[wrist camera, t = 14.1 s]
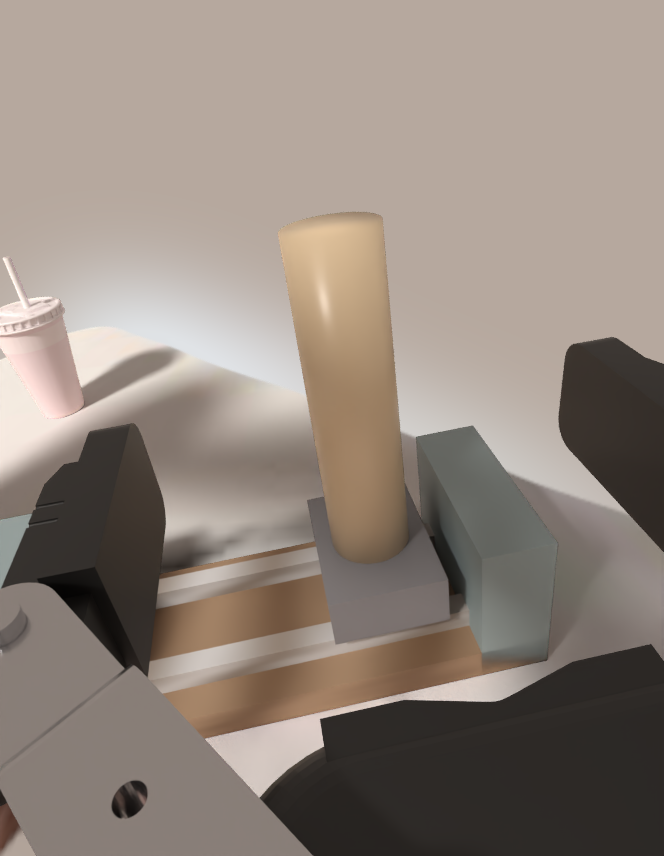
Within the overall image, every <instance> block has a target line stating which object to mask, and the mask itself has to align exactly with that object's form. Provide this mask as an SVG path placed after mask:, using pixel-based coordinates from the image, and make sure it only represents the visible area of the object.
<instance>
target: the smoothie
mask: <svg viewBox="0 0 664 856" xmlns="http://www.w3.org/2000/svg"><path fill="white" fill-rule="evenodd" d="M3 260H4V262H5V264H6V267H7V269H8V272H9V274H10V277H11V279H12V281H13V284H14V286H15V288H16V291H17V293H18V295H19V298H20V300H21V301H18V302H14V303H11V304H8V305H5V306H3V307H0V348H1V349H2V351H3V352H4V354H5V355H6V357H7V359H8V360H9V362H10V363H11V365H12V367H13V368H14V370H15V371H16V373H17V375H18V376H19V378H20V379H21V381H22V382H23V384H24V386H25V387H26V389H27V390H28V392H29V394H30V395H31V397H32V398H33V400H34V401H35V403H36V405H37V406H38V408H39V409H40V411H41V413H42V414H43V416H44V417H45V418H48V419H57V418H62V417H66V416H69V415H71V414H73V413H75V412H77V411H79V410H80V409H81V408H82V407H83V406H84V399H83V395H82V391H81V387H80V383H79V379H78V375H77V371H76V367H75V363H74V359H73V355H72V351H71V347H70V343H69V339H68V335H67V331H66V327H65V323H64V320H63V316H62V315H63V314H64V312H65V309H64V308H63V306H62V303H61V301H60V299H58V298H55V297H38V298H32V299H28V298H27V296H26V294H25V291H24V289H23V286H22V284H21V282H20V280H19V277H18V275H17V272H16V270H15V267H14V265H13V263H12V260H11V258H10V257H9V256H8V257H4V258H3Z"/></svg>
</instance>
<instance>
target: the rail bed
mask: <svg viewBox="0 0 664 856" xmlns="http://www.w3.org/2000/svg"><path fill="white" fill-rule="evenodd" d="M421 520H422V519H421ZM422 522H423V521H422ZM423 525H424V527H425V529H426V531H427V534H428V536H429V538H430V540H431V542H432V545H433V547H434V549H435V535H434V533H433V531H432V529H431V527H430V525H429V523H426V524H423ZM435 551H436V550H435ZM436 554H437V553H436ZM437 556H438V555H437ZM438 558H439V557H438ZM439 560H440V559H439ZM440 563H441V561H440ZM441 565H442V564H441ZM442 567H443V566H442ZM443 569H444V568H443ZM444 571H445V570H444ZM445 574H446V572H445ZM446 576H447V575H446ZM447 578H448V577H447ZM448 585H449V611H450V620H446V621H441V622H436V623H432V624H427V625H423V626H418V627H414V628H409V629H405V630H400V631H396V632H391V633H387V634H382V635H378V636H373V637H369V638H364V639H360V640H355V641H351V642H346V643H342V644H337V645H335V639H334V634H333V629H332V624H331V619H330V614H329V609H328V604H327V599H326V594H325V589H324V583H323V578H322V573H321V568H320V563H319V558H318V553H317V548H316V543H315V542H311V543H306V544H301V545H296V546H292V547H287V548H282V549H277V550H272V551H268V552H263V553H258V554H253V555H249V556H244V557H239V558H234V559H229V560H225V561H220V562H215V563H210V564H205V565H201V566H196V567H191V568H186V569H181V570H177V571H172V572H167V573H162V574H160V577H159V586H158V594H157V603H156V612H155V620H154V629H153V637H152V646H151V654H150V663H149V672H148V679H149V680H150V681H151V682H152V683H153V684H154V685H155V686H156V687H157V688H158V690H159V691H160V692H161V693H162V694H163V695H164V696H165V697H166V698H167V699H168V700H169V701H170V702H171V704H172V705H173V706H174V707H175V708H176V709H177V710H178V711H179V712H180V713H181V714H182V715H183V716H184V717H185V719H186V720H187V721H188V722H189V723H190V724H191V725H192V726H193V727H194V728H195V729H196V730H197V731H198V733H199V734H200V735H201V736H202V737H203V738H209V737H213V736H217V735H222V734H226V733H230V732H235V731H239V730H244V729H248V728H252V727H257V726H261V725H265V724H270V723H274V722H279V721H283V720H287V719H292V718H296V717H300V716H305V715H309V714H314V713H318V712H322V711H327V710H331V709H336V708H340V707H344V706H349V705H353V704H357V703H362V702H366V701H371V700H375V699H379V698H384V697H388V696H392V695H397V694H401V693H406V692H410V691H414V690H419V689H423V688H427V687H432V686H436V685H441V684H445V683H449V682H454V681H458V680H463V679H467V678H471V677H476V676H480V675H484V674H489V673H493V672H498V671H502V670H506V669H511V668H515V667H516V666H517V667H519V666H518V665H520V664H521V663H522V662H523V661H525V660H527V661H526V663H525V662H524V663H522V664H521V665H520V666H524V665H526V664H527V665H528V664H533V662H534V663H537V662H535V661H534V660H531V659H533V658H535V657H533V656H534V654H533V656H532V657H533V658H531V659H529V660H530V661H532V662H530V663H529V662H528V661H529V660H528V659H524V660H523V661H522V660H519V657H518V659H517V661H518V660H519V661H522V662H520V663H518V662H519V661H518V662H517V661H516V660H514V661H510V659H508V660H509V661H508V660H507V661H508V662H506V661H504V660H502V659H501V658H500V657H499V660H496V661H494V660H495V659H498V658H496V657H497V656H496V655H495V659H493V658H491V660H492V659H493V661H494V662H492V661H490V660H489V659H488V658H487V657H486V655H485V657H484V658H483V659H482V655H483V654H482V652H481V650H480V648H479V646H478V644H477V641H476V639H475V637H474V635H473V632H472V630H471V628H470V626H469V609H468V607H467V605H466V602H465V600H464V598H463V596H462V594H456V595H455V592H454V590H453V588H452V586H451V584H450V581H449V579H448ZM546 642H547V641H546ZM535 643H536V642H535ZM503 651H504V650H503ZM522 651H523V650H522ZM526 651H527V650H526ZM504 652H505V651H504ZM491 653H492V652H491ZM493 653H494V652H493ZM502 653H503V652H502ZM506 653H507V652H506ZM533 653H534V652H533ZM543 654H544V653H543ZM543 654H542V653H541V655H542V656H540V654H539V656H540V657H544V655H543ZM546 654H547V653H546ZM491 655H492V654H491ZM488 656H489V657H492V656H490V655H488ZM514 656H515V655H514ZM527 656H528V655H527ZM527 656H525V657H526V658H527ZM536 656H538V655H536ZM493 657H494V656H493ZM508 657H510V655H509V656H508ZM508 657H507V656H506V658H508ZM511 657H512V660H513V658H517V655H516V657H513V656H512V655H511ZM511 657H510V658H511ZM521 657H522V656H521ZM521 657H520V659H521ZM523 657H524V656H523ZM528 657H529V656H528ZM485 658H487V660H488V661H487V660H486V659H485ZM502 658H503V659H504V656H503V657H502ZM506 658H505V659H506ZM537 658H538V657H537ZM500 659H501V660H502V661H501V664H500V662H497V661H500ZM522 659H523V658H522ZM539 659H540V658H539ZM539 659H538V660H537V661H539ZM535 660H536V659H535ZM543 660H544V659H543ZM546 660H547V659H546ZM482 661H485V662H484V663H482ZM486 661H487V663H486ZM515 661H516V663H514V665H513V662H515ZM541 661H542V660H541ZM541 661H540V662H541ZM544 661H545V660H544ZM489 662H490V663H491V662H492V663H491V664H490V663H489ZM495 662H497V663H496V664H497V665H496V664H494V663H495ZM502 662H503V663H502ZM504 662H505V663H504ZM509 662H512V663H511V664H510V663H509ZM508 663H509V664H508ZM517 664H518V665H517ZM523 664H524V665H523ZM487 665H488V667H487ZM512 665H513V666H512ZM489 666H492V669H491V667H489ZM498 666H499V667H498ZM503 667H504V668H503ZM505 668H506V669H505Z"/></svg>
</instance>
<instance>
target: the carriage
mask: <svg viewBox="0 0 664 856" xmlns="http://www.w3.org/2000/svg"><path fill="white" fill-rule="evenodd" d="M278 237H279V242H280V248H281V254H282V259H283V265H284V270H285V276H286V282H287V288H288V293H289V299H290V305H291V311H292V316H293V322H294V327H295V333H296V338H297V344H298V350H299V356H300V361H301V367H302V373H303V379H304V384H305V390H306V396H307V401H308V407H309V413H310V418H311V424H312V430H313V435H314V441H315V447H316V452H317V458H318V464H319V469H320V475H321V481H322V486H323V492H324V497H320V498H315V499H311V500H307V502H308V507H309V512H310V517H311V522H312V527H313V532H314V537H315V543H316V548H317V553H318V558H319V563H320V568H321V573H322V578H323V583H324V589H325V594H326V599H327V604H328V609H329V614H330V619H331V624H332V629H333V634H334V639H335V645H337V644H342V643H346V642H351V641H355V640H360V639H364V638H369V637H373V636H378V635H382V634H387V633H391V632H396V631H400V630H405V629H409V628H414V627H418V626H423V625H427V624H432V623H436V622H441V621H446V620H450V611H449V585H448V578H447V576H446V574H445V571H444V569H443V567H442V565H441V563H440V560H439V558H438V556H437V554H436V551H435V549H434V547H433V545H432V542H431V540H430V538H429V536H428V534H427V531H426V529H425V527H424V525H423V522H422V520H421V518H420V516H419V514H418V511H417V509H416V507H415V505H414V502H413V500H412V498H411V496H410V493H409V491H408V489H407V487H406V485H405V481H404V469H403V457H402V445H401V434H400V422H399V412H398V411H399V410H398V399H397V386H396V374H395V362H394V350H393V338H392V327H391V315H390V303H389V290H388V279H387V266H386V254H385V243H384V230H383V219H382V217H381V216H380V215H377V214H374V213H367V212H345V213H335V214H327V215H320V216H315V217H311V218H307V219H303V220H299V221H296V222H294V223H291V224H289V225H287V226H284V227H283V228H282V229H280V230H279V231H278Z"/></svg>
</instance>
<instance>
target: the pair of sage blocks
mask: <svg viewBox="0 0 664 856" xmlns="http://www.w3.org/2000/svg"><path fill="white" fill-rule="evenodd" d="M416 444H417V459H418V474H419V489H420V503H421V518H422V521H423V524H426V523H429V525H430V527H431V529H432V531H433V533H434V535H435V550H436V553H437V555H438V557H439V559H440V561H441V564H442V566H443V568H444V570H445V572H446V575H447V577H448V579H449V581H450V584H451V586H452V588H453V590H454V592H455V595H456V594H462V596H463V598H464V600H465V602H466V605H467V607H468V609H469V626H470V628H471V630H472V632H473V635H474V637H475V639H476V641H477V644H478V646H479V648H480V650H481V652H482V654H483V655H482V659H483V658H484V657H485V655H486V657H487V658H488V659H489V660H490V661H492V662H494V661H496V660H499V657H500V658H501V659H502V660H504V661H506V662H508V661H509V660H508V659H510V661H514V660H516V661H517V659H518V657H519V660H522V661H523V660H524V659H528V660H529V659H531V658H533V657H535V658H533V659H531V660H534V661H535V662H540V661H541V660H542V661H544V660H545V661H546V659H547V654H548V643H549V633H550V622H551V612H552V601H553V590H554V580H555V569H556V559H557V548H558V542H557V541H556V540H555V538H554V537H553V536H552V534H551V533H550V531H549V530H548V529H547V527H546V526H545V525H544V523H543V522H542V520H541V519H540V518H539V516H538V515H537V513H536V512H535V511H534V509H533V508H532V507H531V505H530V504H529V502H528V501H527V500H526V498H525V497H524V496H523V494H522V493H521V491H520V490H519V489H518V487H517V486H516V484H515V483H514V482H513V480H512V479H511V478H510V476H509V475H508V473H507V472H506V471H505V469H504V468H503V467H502V465H501V464H500V462H499V461H498V460H497V458H496V457H495V455H494V454H493V453H492V451H491V450H490V449H489V447H488V446H487V444H486V443H485V442H484V440H483V439H482V438H481V436H480V435H479V433H478V432H477V431H476V429H475V428H474V427H473V426H469V427H463V428H458V429H453V430H448V431H443V432H438V433H433V434H428V435H423V436H418V437H416ZM31 515H32V514H27V515H22V516H17V517H12V518H7V519H2V520H0V589H1V587H2V585H3V582H4V580H5V577H6V575H7V573H8V570H9V568H10V566H11V563H12V561H13V558H14V556H15V554H16V551H17V549H18V546H19V544H20V542H21V539H22V537H23V535H24V532H25V530H26V528H29V524H28V523H29V520H30V518H31ZM546 641H547V642H546ZM535 642H536V643H535ZM503 650H504V651H505V652H504V651H503ZM522 650H523V651H522ZM526 650H527V651H526ZM491 652H492V653H491ZM493 652H494V653H493ZM502 652H503V653H502ZM506 652H507V653H506ZM533 652H534V653H533ZM541 653H542V654H543V653H544V654H543V655H544V657H540V656H542V655H541ZM546 653H547V654H546ZM491 654H492V655H491ZM533 654H534V656H533ZM539 654H540V656H539ZM488 655H490V656H492V657H489V656H488ZM495 655H496V656H497V657H496V658H498V659H495ZM509 655H510V657H511V655H512V656H513V657H516V655H517V658H513V660H512V657H511V658H510V657H508V656H509ZM514 655H515V656H514ZM527 655H528V656H529V657H528V656H527ZM536 655H538V656H536ZM493 656H494V657H493ZM503 656H504V659H503V658H502V657H503ZM506 656H507V657H508V658H506ZM521 656H522V657H521ZM523 656H524V657H523ZM525 656H527V658H526V657H525ZM532 656H533V657H532ZM520 657H521V659H520ZM537 657H538V658H537ZM487 658H485V659H486V660H487ZM491 658H493V659H495V660H494V661H493V659H492V660H491ZM505 658H506V659H505ZM522 658H523V659H522ZM539 658H540V659H539ZM501 659H500V661H497V662H500V664H501V661H502V660H501ZM535 659H536V660H535ZM538 659H539V661H537V660H538ZM543 659H544V660H543ZM507 660H508V661H507ZM519 660H518V661H519ZM487 661H488V660H487ZM487 661H486V663H487ZM516 661H515V662H513V665H514V663H516ZM518 661H517V662H518ZM522 661H519V662H518V663H520V662H522ZM526 661H527V660H525V661H523V662H522V663H524V662H525V663H526ZM484 662H485V661H482V663H484ZM492 662H491V663H492ZM497 662H495V663H494V664H496V663H497ZM528 662H529V663H530V662H532V661H530V660H529V661H528ZM489 663H490V662H489ZM491 663H490V664H491ZM502 663H503V662H502ZM504 663H505V662H504ZM509 663H510V664H511V663H512V662H509ZM509 663H508V664H509ZM522 663H521V664H522ZM533 663H534V662H533ZM521 664H520V665H521ZM496 665H497V664H496ZM513 665H512V666H513ZM517 665H518V664H517ZM520 665H518V666H520ZM523 665H524V664H523ZM526 665H527V664H526ZM487 667H488V665H487ZM489 667H491V669H492V666H489ZM498 667H499V666H498ZM516 667H517V666H516ZM503 668H504V667H503ZM505 669H506V668H505Z"/></svg>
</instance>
